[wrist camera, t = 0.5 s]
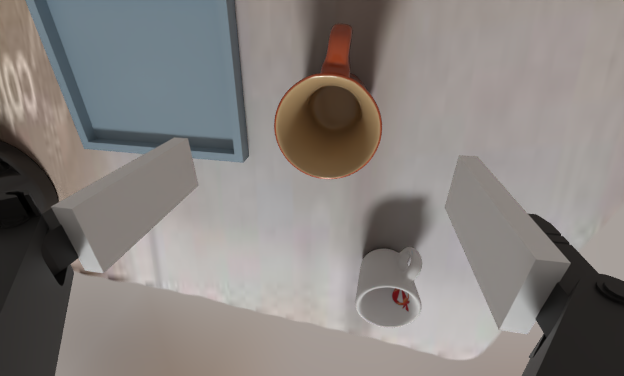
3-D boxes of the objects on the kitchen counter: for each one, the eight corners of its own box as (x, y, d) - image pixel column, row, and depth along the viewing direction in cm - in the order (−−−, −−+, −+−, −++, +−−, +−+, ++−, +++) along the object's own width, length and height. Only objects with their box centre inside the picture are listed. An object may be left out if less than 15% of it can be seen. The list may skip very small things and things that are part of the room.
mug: (367, 145, 34) (369, 187, 25) (295, 134, 34) (272, 170, 25) (392, 30, 28) (407, 31, 19) (304, 20, 28) (278, 15, 19)
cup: (386, 218, 38) (392, 260, 31) (436, 244, 39) (452, 290, 32) (346, 266, 43) (343, 311, 36) (390, 288, 44) (396, 336, 37)
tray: (96, 143, 39) (84, 148, 37) (37, -16, 30) (18, -18, 29) (248, 156, 37) (243, 162, 35) (232, -14, 28) (224, -17, 26)
